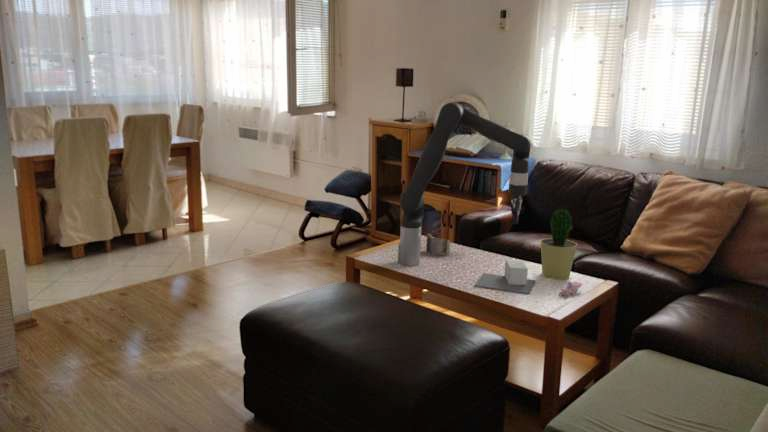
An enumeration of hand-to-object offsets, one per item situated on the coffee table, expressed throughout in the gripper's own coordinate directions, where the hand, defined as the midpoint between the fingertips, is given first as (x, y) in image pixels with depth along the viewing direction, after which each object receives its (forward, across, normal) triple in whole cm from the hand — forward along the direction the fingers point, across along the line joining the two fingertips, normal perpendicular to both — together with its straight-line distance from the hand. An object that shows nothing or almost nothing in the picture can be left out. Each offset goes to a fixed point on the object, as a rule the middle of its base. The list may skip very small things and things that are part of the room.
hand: (514, 223), depth 267 cm
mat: (+23, +12, 0) cm, 26 cm away
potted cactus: (+23, -9, +18) cm, 31 cm away
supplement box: (+19, +2, +1) cm, 19 cm away
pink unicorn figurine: (+23, +12, +26) cm, 37 cm away
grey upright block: (+24, -19, -38) cm, 49 cm away
